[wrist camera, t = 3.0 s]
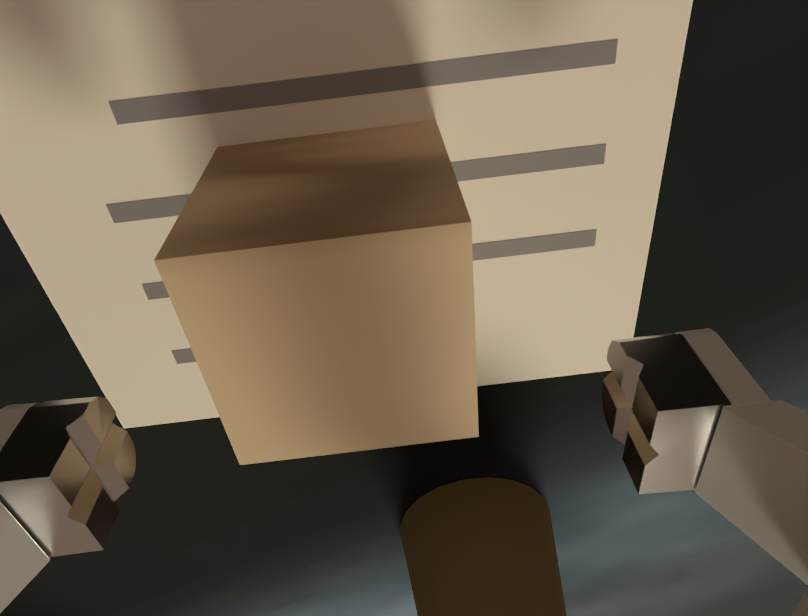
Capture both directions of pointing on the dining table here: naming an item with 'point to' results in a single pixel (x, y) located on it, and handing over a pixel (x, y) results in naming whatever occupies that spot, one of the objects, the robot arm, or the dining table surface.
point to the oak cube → (330, 292)
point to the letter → (327, 113)
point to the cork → (482, 551)
